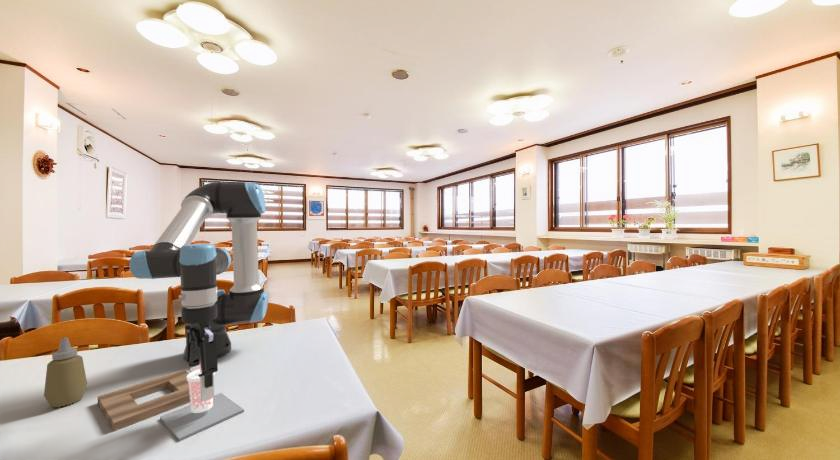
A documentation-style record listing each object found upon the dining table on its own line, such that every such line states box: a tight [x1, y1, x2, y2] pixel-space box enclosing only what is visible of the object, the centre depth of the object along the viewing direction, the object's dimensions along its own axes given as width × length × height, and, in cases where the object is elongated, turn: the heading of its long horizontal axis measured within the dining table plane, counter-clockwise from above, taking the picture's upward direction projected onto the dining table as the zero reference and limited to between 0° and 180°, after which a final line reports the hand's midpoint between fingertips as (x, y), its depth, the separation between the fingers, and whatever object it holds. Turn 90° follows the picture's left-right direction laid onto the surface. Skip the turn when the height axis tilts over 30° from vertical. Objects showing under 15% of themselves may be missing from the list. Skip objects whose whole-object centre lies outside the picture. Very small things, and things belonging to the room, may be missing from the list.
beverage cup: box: [187, 364, 216, 413], centre depth 82 cm, size 6×6×14 cm
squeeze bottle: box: [43, 337, 88, 408], centre depth 89 cm, size 8×8×18 cm
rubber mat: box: [159, 392, 245, 442], centre depth 82 cm, size 14×14×1 cm
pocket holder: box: [97, 369, 190, 432], centre depth 90 cm, size 20×20×2 cm
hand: (202, 394), depth 82 cm, fingers closed on beverage cup, 6 cm apart
